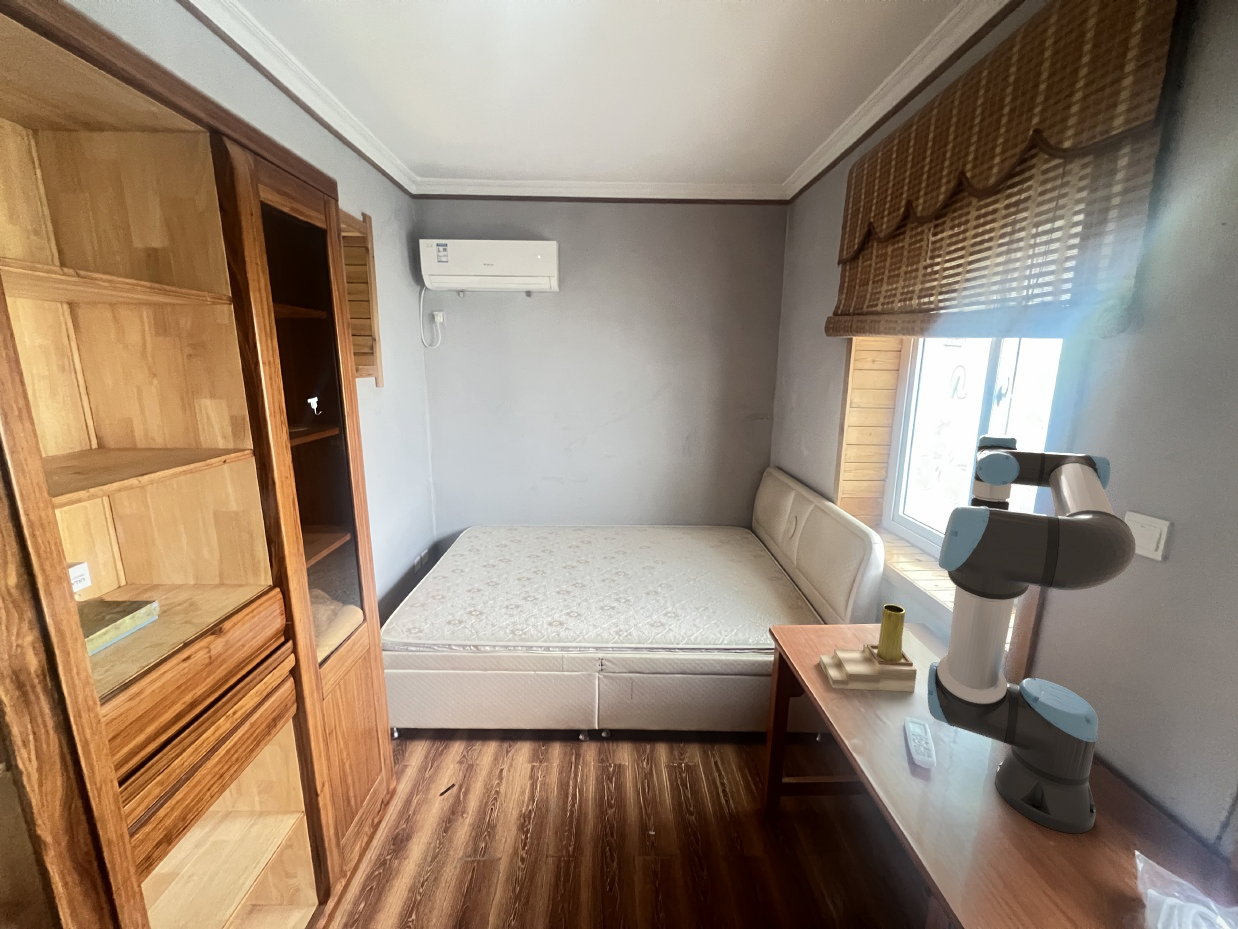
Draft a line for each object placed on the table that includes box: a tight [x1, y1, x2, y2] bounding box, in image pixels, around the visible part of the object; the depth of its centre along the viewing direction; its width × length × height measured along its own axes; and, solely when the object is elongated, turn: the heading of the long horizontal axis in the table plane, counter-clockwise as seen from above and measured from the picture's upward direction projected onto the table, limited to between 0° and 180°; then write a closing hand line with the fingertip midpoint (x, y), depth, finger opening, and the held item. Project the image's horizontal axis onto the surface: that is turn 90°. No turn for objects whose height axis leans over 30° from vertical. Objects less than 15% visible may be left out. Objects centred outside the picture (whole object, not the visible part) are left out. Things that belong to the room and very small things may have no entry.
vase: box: [877, 603, 906, 661], centre depth 136 cm, size 6×6×14 cm
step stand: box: [818, 643, 917, 693], centre depth 138 cm, size 12×21×7 cm, turn 84°
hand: (980, 578), depth 127 cm, fingers open, 13 cm apart
